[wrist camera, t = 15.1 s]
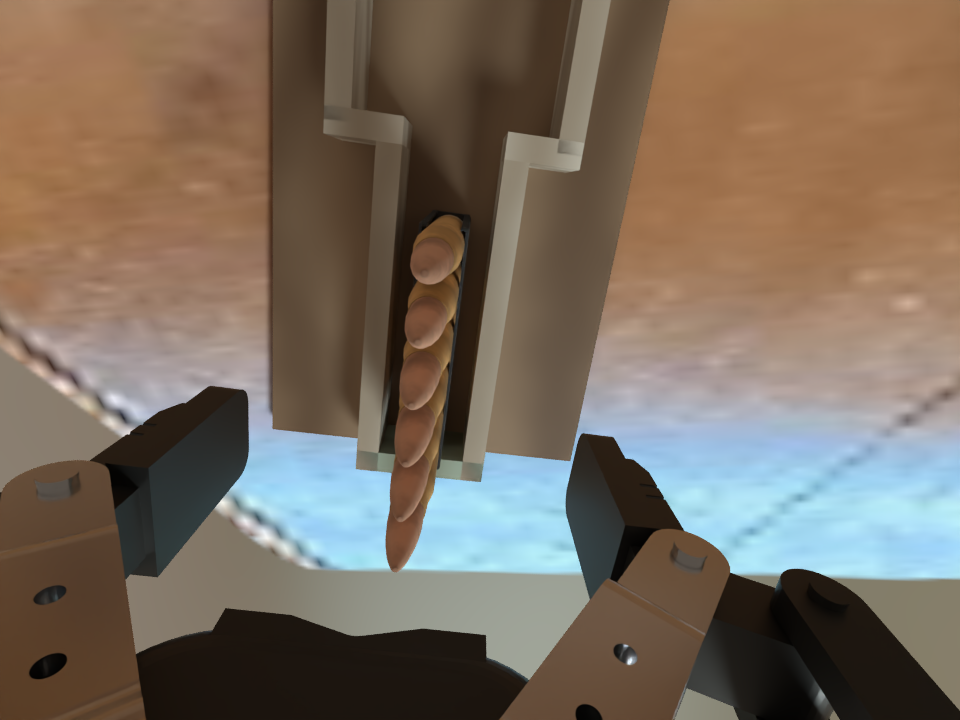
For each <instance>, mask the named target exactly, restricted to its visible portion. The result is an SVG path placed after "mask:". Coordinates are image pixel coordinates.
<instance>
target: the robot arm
mask: <svg viewBox="0 0 960 720" xmlns="http://www.w3.org/2000/svg"><path fill="white" fill-rule="evenodd" d="M248 452H249V430H248V396H247V393H246V392H245V391H244V390H239V389H231V388H223V387H215V386H209V387H207V388H206V389H204V390H203V391H202V392H200V393H199V394H198V395H196V396H195V397H194V398H192V399H191V400H190V401H188V402H187V403H181V404H178V405H176V406H173V407H170V408H168V409H165V410H162V411H159V412H158V413H157V414H155V415H154V416H152V417H151V418H149V419H148V420H147V421H145V422H144V423H143V425H140V426H138V427H137V428H135V429H134V430H132V431H131V432H130V435H125V436H124V437H122V438H121V439H120V440H118V441H117V442H116V443H114V444H113V445H111V446H110V447H108V448H107V449H105V450H104V451H103V452H101V453H100V454H98V455H97V456H95V457H94V458H93V459H91V460H90V461H84V460H74V461H63V462H57V463H51V464H47V465H43V466H40V467H37V468H34V469H31V470H29V471H26V472H24V473H22V474H20V475H18V476H17V477H15V478H14V479H12V480H11V481H10V482H8V483H7V484H6V485H5V487H4V488H3V491H2V492H0V720H675V717H676V715H677V712H678V709H679V707H680V704H681V702H682V699H683V696H684V694H685V691H686V689H687V688H688V689H691V690H693V691H696V692H698V693H701V694H703V695H706V696H708V697H711V698H713V699H716V700H718V701H721V702H723V703H726V704H728V705H731V706H733V707H734V709H735V712H736V714H737V717H738V719H739V720H830V719H829V718H830V716H831V714H832V712H833V710H834V711H835V712H836V714H837V716H838V717H839V719H840V720H960V711H959V709H958V708H957V707H956V706H955V705H954V704H953V703H952V701H951V700H950V699H949V698H948V697H947V696H946V695H945V693H944V692H943V691H942V690H941V689H940V688H939V687H938V685H936V683H935V682H934V681H933V680H932V679H931V677H930V676H929V675H928V674H927V673H926V672H925V671H924V669H923V668H922V667H921V666H920V665H919V664H918V662H917V661H916V660H915V659H914V658H913V657H912V656H911V655H910V653H909V652H908V651H907V650H906V649H905V648H904V646H903V645H902V644H901V643H900V642H899V641H898V640H897V638H896V637H895V636H894V635H893V634H892V633H891V632H890V631H889V629H888V628H887V627H886V626H885V625H884V624H883V623H882V621H881V620H880V619H879V618H878V617H877V615H876V614H875V613H874V612H873V611H872V610H871V609H870V607H869V606H868V605H867V604H866V603H865V602H864V601H863V600H862V599H861V598H860V597H859V596H857V595H856V594H855V593H853V592H852V591H851V590H849V589H848V588H847V587H845V586H843V585H842V584H840V583H838V582H837V581H835V580H833V579H831V578H829V577H826V576H824V575H821V574H819V573H816V572H813V571H809V570H804V569H789V570H786V571H784V572H783V573H782V574H781V576H780V579H779V581H778V584H777V586H776V588H773V587H771V586H768V585H765V584H761V583H758V582H755V581H752V580H749V579H746V578H743V577H740V576H738V575H735V574H732V573H730V566H729V563H728V561H727V560H726V558H725V557H724V555H723V554H722V553H721V552H720V551H719V550H718V549H717V548H716V547H714V546H713V545H712V544H710V543H709V542H707V541H706V540H704V539H702V538H700V537H698V536H696V535H694V534H691V533H688V532H685V531H684V530H683V528H682V526H681V525H680V523H679V521H678V520H677V518H676V516H675V515H674V513H673V511H672V510H671V508H670V506H669V505H668V503H667V502H666V500H664V497H663V495H662V493H661V492H660V490H659V488H657V485H656V483H655V482H654V480H653V478H652V477H651V475H650V474H649V472H648V471H647V470H645V469H644V468H643V467H642V466H640V465H639V464H638V463H637V462H636V461H634V460H632V459H625V457H624V455H623V453H622V452H621V450H620V448H619V446H618V444H617V442H616V441H615V439H614V438H613V437H608V436H600V435H592V434H584V433H583V434H581V436H580V438H579V440H578V444H577V448H576V452H575V457H574V461H573V465H572V470H571V474H570V478H569V483H568V487H567V493H566V514H567V518H568V522H569V525H570V529H571V533H572V536H573V540H574V544H575V547H576V551H577V554H578V558H579V562H580V565H581V569H582V572H583V576H584V580H585V583H586V587H587V590H588V594H589V598H590V601H589V602H588V603H587V605H586V606H585V608H584V609H583V610H582V611H581V613H580V614H579V615H578V617H577V618H576V619H575V621H574V622H573V623H572V625H571V626H570V627H569V628H568V630H567V631H566V632H565V634H564V635H563V637H562V638H561V639H560V640H559V642H558V643H557V644H556V646H555V647H554V648H553V650H552V651H551V652H550V654H549V655H548V656H547V658H546V659H545V660H544V661H543V663H542V664H541V665H540V667H539V668H538V669H537V671H536V672H535V673H534V675H533V676H532V677H531V679H530V680H528V679H527V678H525V677H524V676H522V675H521V674H519V673H517V672H516V671H514V670H513V669H511V668H510V667H508V666H505V665H503V664H501V663H499V662H497V661H495V660H492V659H489V658H487V657H486V635H479V634H470V633H460V632H450V631H441V630H430V629H417V630H408V631H400V632H391V633H383V634H374V635H366V636H350V635H346V634H343V633H341V632H338V631H335V630H332V629H329V628H326V627H323V626H320V625H318V624H315V623H312V622H309V621H306V620H303V619H301V618H298V617H295V616H292V615H285V614H276V613H266V612H256V611H246V610H236V609H227V608H225V610H224V612H223V614H222V615H221V617H220V619H219V620H218V622H217V624H216V625H215V627H214V629H213V630H211V631H203V632H198V633H194V634H189V635H185V636H181V637H178V638H175V639H171V640H168V641H165V642H163V643H160V644H158V645H155V646H152V647H150V648H148V649H146V650H144V651H141V652H139V653H137V654H136V652H135V645H134V638H133V631H132V624H131V618H130V610H129V602H128V595H127V589H126V581H125V580H126V579H127V577H128V576H129V575H130V574H132V575H142V576H152V577H158V576H159V575H160V574H161V573H162V571H163V570H164V569H165V568H166V566H167V565H168V564H169V563H170V561H171V560H172V559H173V558H174V557H175V555H176V554H177V553H178V552H179V551H180V549H181V548H182V547H183V546H184V544H185V543H186V542H187V541H188V540H189V538H190V537H191V536H192V535H193V533H194V532H195V531H196V530H197V529H198V527H199V526H200V525H201V524H202V522H203V521H204V520H205V519H206V517H207V516H208V515H209V514H210V513H211V512H212V510H213V509H214V508H215V507H216V505H217V504H218V503H219V502H220V501H221V499H222V498H223V497H224V496H225V494H226V493H227V492H228V491H229V490H230V488H231V487H232V486H233V485H234V484H235V482H236V481H237V480H238V479H239V477H240V476H241V475H242V473H243V471H244V469H245V466H246V463H247V459H248Z"/></svg>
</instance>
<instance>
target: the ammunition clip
mask: <svg viewBox="0 0 960 720" xmlns="http://www.w3.org/2000/svg"><path fill="white" fill-rule="evenodd" d="M470 223H471V217H470V215H467V214H459V213H452V212H445V211H438V210H432V212H431V213H430V214H429V215H427V216H426V217H425V218H424V219H423V220H422V221H420V223H419V231H418V236H417V238H416V240H415V242H414V244H413V253H412V255H411V263H410V267H411V271H412V274H413V275H414V284H413V289H412V291H411V293H410V296H409V298H408V313H407V315H406V319H405V334H406V337H407V341H406V344H405V346H404V354H403V357H404V362H403V368H402V371H401V375H400V385H399V389H400V398H399V406H400V409H399V413H398V420H397V423H396V430H395V453H396V455H395V459H394V467H393V471H392V476H391V485H390V502H391V504H390V512H389V516H388V521H387V530H386V555H387V560H388V564H389V566H390V569H391V570H392V571H393V572H398V571H399V570H401V569H402V568H403V567H404V565H405V564H406V563H407V561H408V560H409V558H410V556H411V554H412V553H413V551H414V549H415V547H416V544H417V542H418V539H419V536H420V533H421V529H422V524H423V518H424V516H425V513H426V508H427V504H428V502H429V500H430V498H431V496H432V494H433V490H434V484H435V477H436V470H438V469H439V468H440V462H441V454H442V447H443V439H444V431H445V423H446V415H447V407H448V399H449V391H450V383H451V375H452V367H453V359H454V351H455V343H456V335H457V327H458V319H459V311H460V303H461V295H462V287H463V279H464V271H465V263H466V255H467V247H468V239H469V231H470Z"/></svg>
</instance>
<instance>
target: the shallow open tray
mask: <svg viewBox="0 0 960 720" xmlns="http://www.w3.org/2000/svg"><path fill="white" fill-rule="evenodd" d="M669 1H670V0H273V429H277V430H286V431H296V432H305V433H314V434H323V435H333V436H342V437H351V438H358V442H357V459H356V469H360V470H370V471H380V472H389V473H392V471H393V467H394V459H395V455H396V453H395V430H396V423H397V420H398V413H399V409H400V406H399V398H400V389H399V385H400V375H401V371H402V368H403V362H404V357H403V354H404V346H405V344H406V341H407V337H406V334H405V319H406V315H407V313H408V298H409V296H410V293H411V291H412V289H413V284H414V275H413V274H412V271H411V267H410V263H411V255H412V253H413V244H414V242H415V240H416V238H417V236H418V231H419V223H420V221H422V220H423V219H424V218H425V217H426V216H427V215H429V214H430V213H431V212H432V210H438V211H445V212H452V213H459V214H467V215H470V217H471V223H470V231H469V239H468V247H467V255H466V263H465V271H464V279H463V287H462V295H461V303H460V311H459V319H458V327H457V335H456V343H455V351H454V359H453V367H452V375H451V383H450V391H449V399H448V407H447V415H446V423H445V431H444V439H443V447H442V454H441V462H440V468H439V469H438V470H436V477H437V478H447V479H456V480H466V481H476V482H481V477H482V470H483V464H484V457H485V452H490V453H499V454H509V455H518V456H527V457H536V458H546V459H555V460H564V461H570V460H571V455H572V450H573V446H574V441H575V436H576V432H577V427H578V422H579V418H580V413H581V409H582V404H583V399H584V395H585V390H586V385H587V381H588V376H589V371H590V367H591V362H592V358H593V353H594V348H595V344H596V339H597V334H598V330H599V325H600V320H601V316H602V311H603V307H604V302H605V297H606V293H607V288H608V283H609V279H610V274H611V269H612V265H613V260H614V256H615V251H616V246H617V242H618V237H619V232H620V228H621V223H622V218H623V214H624V209H625V205H626V200H627V195H628V191H629V186H630V181H631V177H632V172H633V167H634V163H635V158H636V154H637V149H638V144H639V140H640V135H641V130H642V126H643V121H644V116H645V112H646V107H647V103H648V98H649V93H650V89H651V84H652V79H653V75H654V70H655V65H656V61H657V56H658V52H659V47H660V42H661V38H662V33H663V28H664V24H665V19H666V14H667V10H668V5H669Z"/></svg>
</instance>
